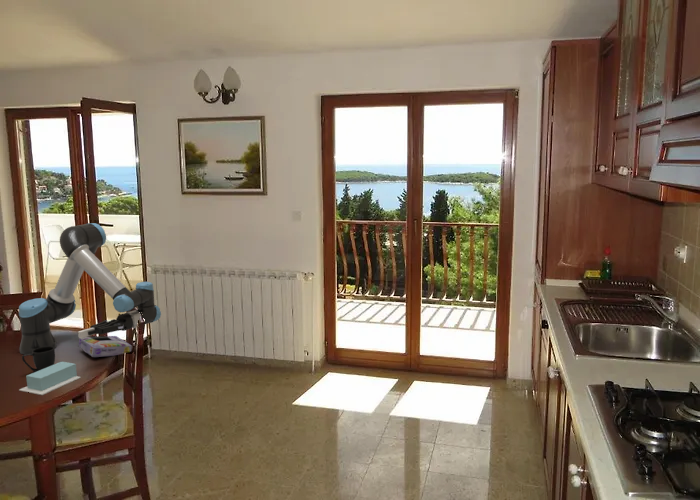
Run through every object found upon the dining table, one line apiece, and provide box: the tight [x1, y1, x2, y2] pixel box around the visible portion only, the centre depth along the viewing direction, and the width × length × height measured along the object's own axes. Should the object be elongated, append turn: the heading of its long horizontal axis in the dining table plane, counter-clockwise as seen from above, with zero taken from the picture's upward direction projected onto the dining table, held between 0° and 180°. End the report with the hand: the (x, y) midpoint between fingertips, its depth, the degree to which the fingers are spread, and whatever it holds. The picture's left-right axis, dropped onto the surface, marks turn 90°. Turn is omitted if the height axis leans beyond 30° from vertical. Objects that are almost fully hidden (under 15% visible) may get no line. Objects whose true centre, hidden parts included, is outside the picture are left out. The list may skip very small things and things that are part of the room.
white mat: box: [18, 375, 81, 396], centre depth 219 cm, size 13×18×1 cm
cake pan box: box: [77, 335, 133, 358], centre depth 255 cm, size 19×5×18 cm
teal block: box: [26, 361, 78, 391], centre depth 220 cm, size 8×5×16 cm
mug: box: [21, 346, 56, 373], centre depth 231 cm, size 8×12×10 cm
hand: (79, 335), depth 230 cm, fingers closed
